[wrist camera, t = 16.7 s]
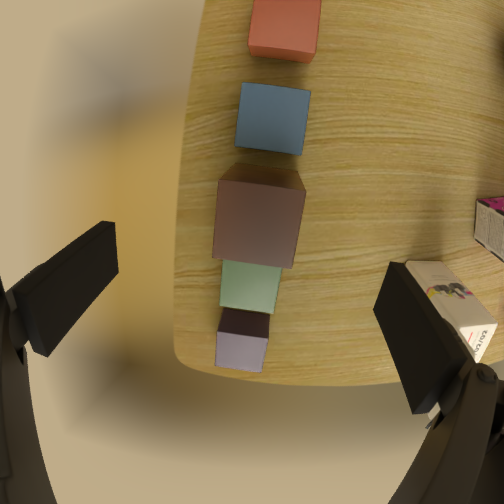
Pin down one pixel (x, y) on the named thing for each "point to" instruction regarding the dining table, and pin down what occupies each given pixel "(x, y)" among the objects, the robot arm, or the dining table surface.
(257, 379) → the dining table surface
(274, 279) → the block
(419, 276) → the ink box
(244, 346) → the block
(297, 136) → the block
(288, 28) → the block
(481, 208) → the candy bar box
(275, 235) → the walnut block
